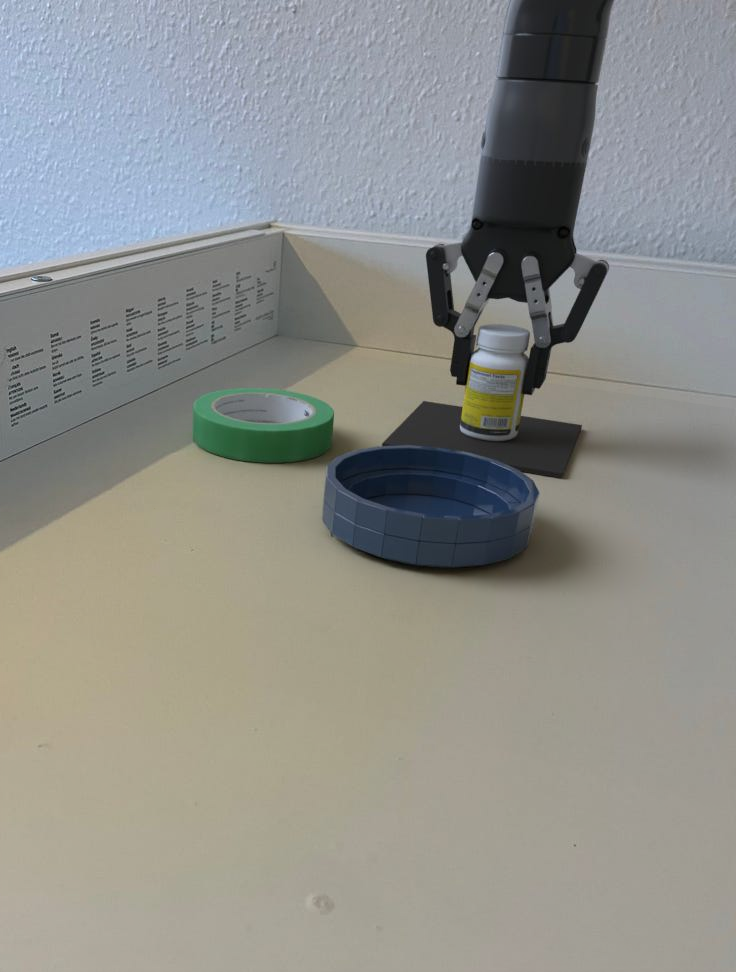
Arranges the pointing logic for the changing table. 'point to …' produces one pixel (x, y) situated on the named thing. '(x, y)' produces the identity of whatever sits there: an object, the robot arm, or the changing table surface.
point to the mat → (529, 451)
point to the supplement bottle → (495, 383)
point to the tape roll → (262, 425)
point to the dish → (429, 505)
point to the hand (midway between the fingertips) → (495, 386)
